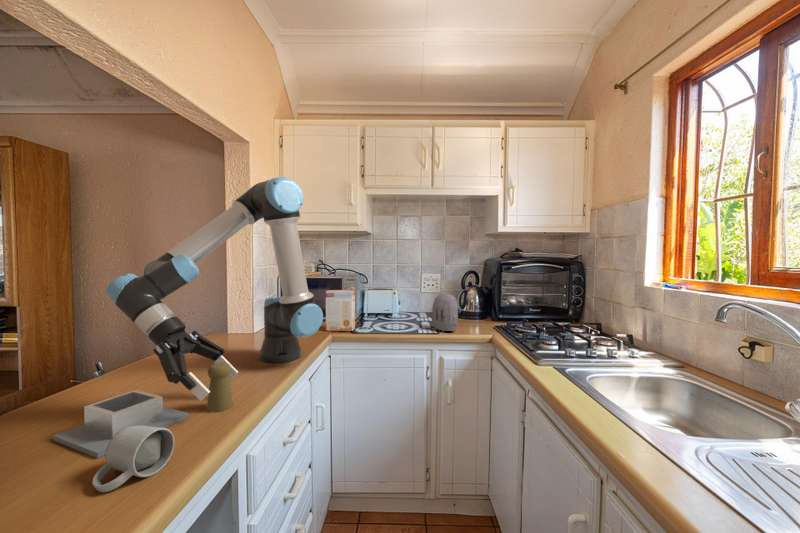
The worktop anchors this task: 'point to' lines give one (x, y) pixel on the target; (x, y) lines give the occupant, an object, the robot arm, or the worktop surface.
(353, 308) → the cracker box
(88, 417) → the metal collar
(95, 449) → the base plate
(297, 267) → the robot arm
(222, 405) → the cork
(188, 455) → the worktop surface
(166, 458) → the ceramic mug
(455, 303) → the small grey backpack
